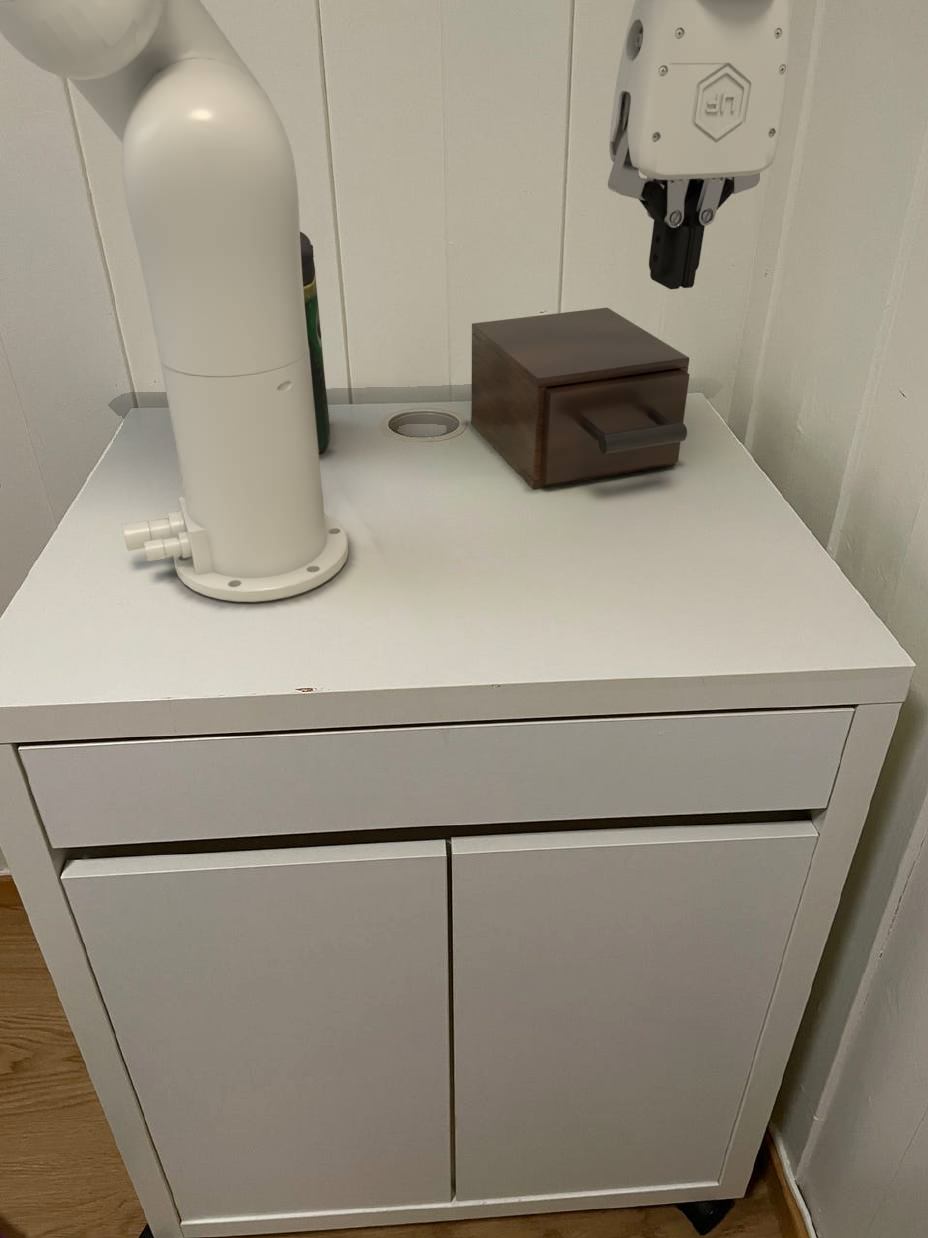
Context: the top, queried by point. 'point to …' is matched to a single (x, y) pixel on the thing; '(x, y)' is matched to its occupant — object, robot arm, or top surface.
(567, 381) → the cabinet
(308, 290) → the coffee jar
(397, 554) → the top surface
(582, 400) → the drawer
